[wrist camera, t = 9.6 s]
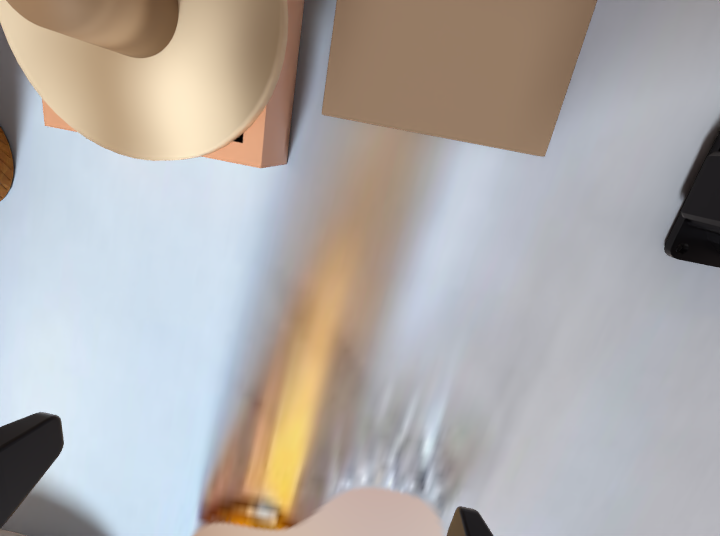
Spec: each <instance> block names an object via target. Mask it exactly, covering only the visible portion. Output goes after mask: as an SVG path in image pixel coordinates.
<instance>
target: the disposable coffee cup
mask: <svg viewBox="0 0 720 536" xmlns="http://www.w3.org/2000/svg"><path fill="white" fill-rule="evenodd" d="M13 170H14V166H13V158H12V153H11V150H10V146H9V143H8V141H7V139H6V136H5V134H4V132H3V130H2V129H1V127H0V201H1V200H2V199H3V198H4V197H5V196H6V194H7V193H8V191H9V189H10V187H11V183H12V179H13Z"/></svg>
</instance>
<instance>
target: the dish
mask: <svg viewBox="0 0 720 536" xmlns="http://www.w3.org/2000/svg"><path fill="white" fill-rule="evenodd" d="M287 6H288V35H287V45H286V51H285V57H284V62H283V65H282V69H281V73H280V76H279V79H278V82H277V84H276V86H275V89H274V91H273V94H272V96H271V98H270V99H269V101H268V103H267V105H266V106H265V108H264V110H263V111H262V113H261V114H260V115H259V117H258V118H257V119H256V120H255V122H254V123H253V124H252V125H251V126H250V127H249V128H248V129H247V130H246V131H245V132H244V133H243V134H242V135H241V136H240V137H238V138H237V139H236V140H234V141H233V142H231V143H230V144H228V145H227V146H225V147H223V148H221V149H219V150H217V151H215V152H213V153H210V154H207V155H204V156H202V157H207V158H212V159H217V160H222V161H227V162H232V163H237V164H243V165H248V166H253V167H258V168H265V167H271V166H278V165H284V164H287V156H288V146H289V137H290V128H291V119H292V110H293V101H294V92H295V82H296V73H297V64H298V55H299V46H300V37H301V28H302V18H303V9H304V0H287ZM42 103H43V113H44V122H45V126H50V127H55V128H60V129H65V130H70V131H75V132H77V131H76V130H75V129H73V128H72V127H71V126H69V125H68V124H67V123H66V122H65V121H64V120H63V119H62V118H60V117H59V116H58V115H57V114H56V113H55V112H54V111H53V110H52V109H51V108H50V106H49V105H48V104H47V103H46V102H45V101H44V100H43V99H42Z"/></svg>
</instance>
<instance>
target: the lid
mask: <svg viewBox="0 0 720 536" xmlns="http://www.w3.org/2000/svg"><path fill="white" fill-rule="evenodd" d="M0 23H1V25H2V28H3V31H4V33H5V36H6V38H7V41H8V44H9V46H10V48H11V50H12V52H13V54H14V56H15V58H16V60H17V62H18V64H19V65H20V67H21V69H22V70H23V72H24V73H25V75H26V77H27V78H28V80H29V81H30V83H31V84H32V86H33V87H34V88H35V90H36V91H37V92H38V93H39V95H40V96H41V97H42V99H43V100H44V101H45V102H46V103H47V104H48V105H49V106H50V108H51V109H52V110H53V111H54V112H55V113H56V114H57V115H58V116H59V117H60V118H62V119H63V120H64V121H65V122H66V123H67V124H68V125H69V126H71V127H72V128H73V129H75V130H76V131H77V132H79V133H80V134H82V135H83V136H84V137H86V138H87V139H89V140H91V141H93V142H94V143H96V144H98V145H100V146H102V147H104V148H106V149H109V150H111V151H113V152H116V153H118V154H121V155H125V156H129V157H132V158H137V159H144V160H152V161H156V160H183V159H190V158H196V157H200V156H204V155H207V154H210V153H213V152H215V151H217V150H219V149H221V148H223V147H225V146H227V145H228V144H230V143H231V142H233V141H234V140H236V139H237V138H238V137H240V136H241V135H242V134H243V133H244V132H245V131H246V130H247V129H248V128H249V127H250V126H251V125H252V124H253V123H254V122H255V120H256V119H257V118H258V117H259V115H260V114H261V113H262V111H263V110H264V108H265V106H266V105H267V103H268V101H269V99H270V98H271V96H272V94H273V91H274V89H275V86H276V84H277V82H278V79H279V76H280V73H281V69H282V65H283V62H284V57H285V51H286V45H287V35H288V6H287V0H0Z"/></svg>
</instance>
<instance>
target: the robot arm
mask: <svg viewBox="0 0 720 536" xmlns="http://www.w3.org/2000/svg"><path fill="white" fill-rule="evenodd" d="M680 244H682V248H681V249H680V250H679V251H676V249H677V247H678V246H679V245H680ZM664 250H665V253H666V254H667V255H668V256H671V257H673V258H676V259H679V260H684V261H689V262H694V263H699V264H704V265H709V266H714V267H719V268H720V132H719V134H718V136H717V138H716V140H715V142H714V144H713V146H712V148H711V150H710V153H709V155H708V156H707V158H706V159H705V162H704V164H703V166H702V168H701V170H700V172H699V174H698V176H697V178H696V180H695V182H694V184H693V186H692V189H691V191H690V193H689V195H688V197H687V199H686V201H685V203H684V205H683V207H682V209H681V213H680V215H679V217H678V219H677V221H676V223H675V225H674V227H673V229H672V232H671V234H670V236H669V238H668V240H667V242H666V244H665V248H664ZM63 445H64V440H63V432H62V423H61V419H60V417H59V416H57V415H53V414H49V413H44V412H39V413H35V414H33V415H30V416H27V417H25V418H22V419H20V420H17V421H15V422H12V423H9V424H7V425H4V426H2V427H0V529H1V528H2V526H3V525H4V524H5V523H6V522H7V520H8V519H9V518H10V517H11V516H12V514H13V513H14V512H15V511H16V509H17V508H18V507H19V505H20V504H21V503H22V502H23V500H24V499H25V498H26V497H27V495H28V494H29V493H30V491H31V490H32V489H33V488H34V486H35V485H36V484H37V483H38V481H39V480H40V479H41V477H42V476H43V475H44V474H45V472H46V471H47V470H48V469H49V467H50V466H51V465H52V463H53V462H54V461H55V460H56V458H57V457H58V456H59V454H60V452H61V451H62V448H63ZM447 536H493V534H492V533H491V531H490V529H489V528H488V526H487V525H486V523H485V521H484V520H483V518H482V517H481V515H480V514H479V512H478V511H476V510H474V509H471V508H466V507H462V506H459V507H458V508H457V509H456V511H455V513H454V516H453V519H452V521H451V524H450V527H449V529H448V533H447Z"/></svg>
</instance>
